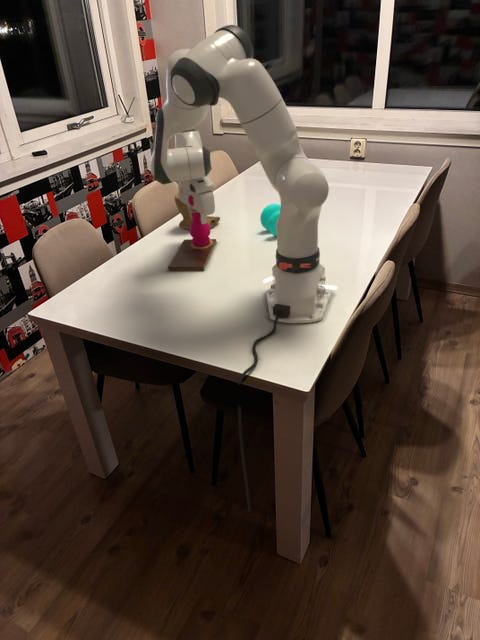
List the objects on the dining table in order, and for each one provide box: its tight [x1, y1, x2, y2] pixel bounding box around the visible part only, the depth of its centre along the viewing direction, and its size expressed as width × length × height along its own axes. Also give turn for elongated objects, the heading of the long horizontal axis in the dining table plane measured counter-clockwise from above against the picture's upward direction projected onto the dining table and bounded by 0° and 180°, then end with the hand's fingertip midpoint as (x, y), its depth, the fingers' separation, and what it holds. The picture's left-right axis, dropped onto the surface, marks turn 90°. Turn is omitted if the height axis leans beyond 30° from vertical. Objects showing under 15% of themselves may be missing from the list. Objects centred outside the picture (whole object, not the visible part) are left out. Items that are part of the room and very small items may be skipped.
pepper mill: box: [188, 195, 212, 247], centre depth 168 cm, size 7×7×20 cm
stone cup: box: [174, 191, 221, 229], centre depth 188 cm, size 15×12×15 cm
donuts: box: [259, 203, 281, 237], centre depth 178 cm, size 10×10×10 cm
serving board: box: [167, 238, 218, 272], centre depth 169 cm, size 22×12×2 cm, turn 171°
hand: (198, 220), depth 169 cm, fingers open, 6 cm apart
